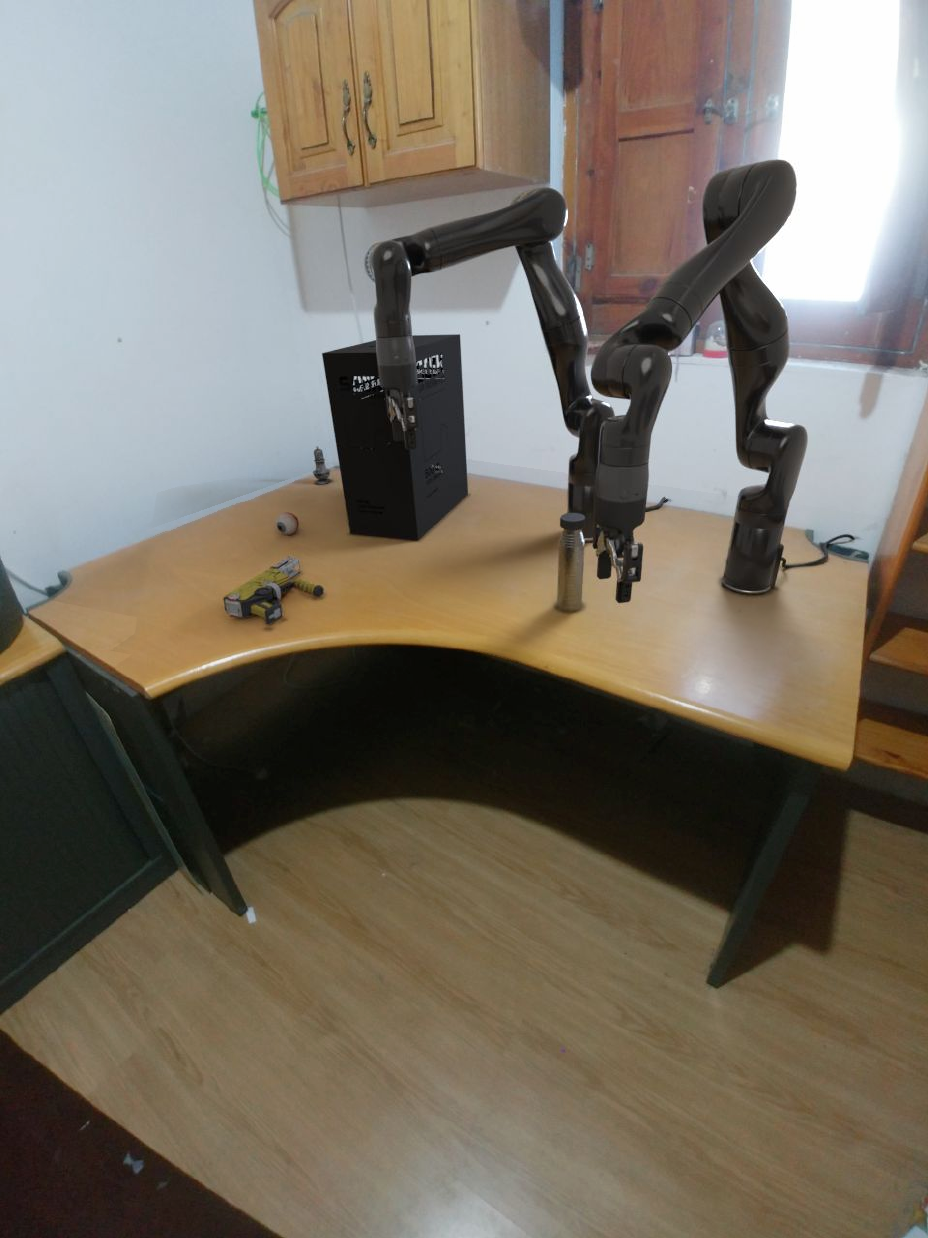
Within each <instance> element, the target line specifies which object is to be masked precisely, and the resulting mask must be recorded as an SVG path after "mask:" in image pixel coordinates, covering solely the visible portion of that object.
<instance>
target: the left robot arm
mask: <svg viewBox="0 0 928 1238" xmlns="http://www.w3.org/2000/svg"><path fill="white" fill-rule="evenodd" d="M568 217H569V209H568V204H567V201H566V199H565V198H564V196H563V195H562V194H561V192H559V190H557V189H555V188H553V187H548V186H540V187H535V188H531V189H528V190H525V191H522V192H520V193H518V194H517V195H515V196H514V198H513V199H512V200H511V202H510V204H509V205H507V206H505V207H503V208H502V207H501V208H499V209H496V210H493V211H490V212H489V211H488V212H486V213H482V214H477V215H472V216H468V217H463V218H462V217H461V218H459V219H454V220H449V221H446V222H443V223H440V224H436V225H433V226H429V227H426V228H423V229H421V230H419V231H416V232H415V233H412V234H409V235H404V236H400V237H395V238H391V239H387V240H384V241H379V242H375V243H373V244H372V245H371V246H370V247H369V248H368V249H367V251H366V252H365V255H364V257H363V258H364V259H363V268H364V271H365V274H366V276H367V278H369V280H371V282H373V283H374V287H375V298H376V299H375V300H376V301H375V304H374V307H373V325H374V333H375V340H376V354H377V363H378V372H379V379H378V380H380V386H381V388H383V389H385V393H386V404H387V416H388V418H390V421H391V423H392V428H393V437H394V440H395V441H403V440H405V448H406V449H407V450H412V449H416V447H417V446H416V435H415V430H416V428H419V422H418V413H417V403H416V397H415V396H413V397H411V396H410V392H409V389H410V388H411V387H415V386H416V385H417V384H418V380H417V372H418V371H417V369H416V357H415V347H414V342H413V336H412V335H413V328H412V316H411V310H410V309H411V297H412V277H415V276H418V275H423V274H430V273H435V272H439V271H442V270H445V269H449V268H452V267H454V266H455V267H456V266H458V265H461V264H463V263H466V262H469V261H471V260H474V259H477V258H479V257H482V256H485V255H488V254H491V253H495V252H498V251H500V250H504V249H507V248H511V247H514V249H515V250H516V253H517V256H518V258H519V260H520V263H521V266H522V268H523V271H524V274H525V277H526V280H527V283H528V286H529V291H530V295H531V298H532V301H533V305H534V308H535V311H536V315H537V319H538V324H539V328H540V331H541V334H542V337H543V341H544V345H545V349H546V352H547V355H548V357H549V361H550V365H551V369H552V372H553V375H554V378H555V381H556V384H557V386H556V387H557V389H558V395H559V401H560V406H561V412H562V418H563V422H564V426H565V428H566V429H567V431H568V432H569V434H571V435H572V436H573V437H576V438H578V447H577V452H576V453H574V454H572V455H570V456H569V459H568V468H567V469H568V473H567V501H566V502H567V503H566V514H567V513H578V514H582V515H584V516H585V526H584V528H582V529H581V531H582V534H583V537H584V541H585V543H587V542H593V534H594V522H595V521H594V519H593V512H594V495H595V479H596V472H597V467H598V458H599V442H600V430H601V426H602V424H603V422H604V421H605V420H606V419H608V418H610V417H613V416H616V414H615V410H614V408H613V406H612V405H611V404H610V403H608V402H606V401H604V400H600V399H597V398H594V397H593V395H592V394H593V393H592V392H591V389H590V386H589V381H588V378H587V373H586V363H587V356H588V349H589V333H588V327H587V323H586V319H585V315H584V311H583V308H582V305H581V302H580V300H579V297H578V295H577V294H576V292H575V290H574V289H573V287H572V285H571V284H570V282H569V280H568V279H567V277H566V276H565V274H564V272H563V271H562V269H561V267H560V263H559V261H558V259H557V256H556V252H555V248H554V244H553V242H554V241H555V240H557V239H558V238H559V237H560V236H561V234H562V233H563V232H564V230H565V228H566V227H567V222H568ZM409 420H410V421H411V423H409ZM665 497H666V496H663V497H662V498H661V499H660V501H659V502H658V503H657V504H654V505H651V506H646V510H645V512H647V511H652V510H656V509H658V508H660V507H661V506H662V505H663V504H664V502H669V498H667V499H666V498H665ZM665 499H666V500H665ZM599 538H600V536H599ZM599 538H598V540H599Z"/></svg>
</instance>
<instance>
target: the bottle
mask: <svg viewBox="0 0 928 1238" xmlns="http://www.w3.org/2000/svg"><path fill="white" fill-rule="evenodd" d="M585 545H586V542H585V541H584V537H583V534H582V531H581V529H580V530H566V529H563V530H562V531H561V534H560V537H559V540H558V557H557V559H558V560H557V588H556V589H557V590H556V591H557V593H556V607H557V608H558V610H560V611H562V612H568V613H572V612H574V613H575V612H577V611H579V610H581V608H582V604H583V603H582V602H583V584H584V583H583V582H584V567H585V566H584V565H585V562H584V561H585Z"/></svg>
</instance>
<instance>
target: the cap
mask: <svg viewBox="0 0 928 1238" xmlns="http://www.w3.org/2000/svg"><path fill="white" fill-rule="evenodd" d="M584 526H585V516H584V515H582V514H578V513H567V512H566V513H564V514H562V515H560V518H559V527H560V528H561V529H563V530H564V529H566V530H580V529H582V528H584Z"/></svg>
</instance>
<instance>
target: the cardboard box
mask: <svg viewBox="0 0 928 1238" xmlns="http://www.w3.org/2000/svg"><path fill="white" fill-rule="evenodd" d="M412 336H413V342H414V347H415V357H416V369H417V380H418V384H417V385H416V386H415V387H411V388H410V389H409V392H410V396H411V397H413V396H415V397H416V403H417V413H418V422H419V428H416V430H415V435H416V446H417V447H416V449H412V450H407V449H406V448H405V440H403V441H395V440H394V437H393V428H392V423H391V421H390V418H388V416H387V404H386V393H385V389H383V388H381V386H380V380H379V372H378V363H377V354H376V339H375V340H370V341H366V342H362V343H358V344H354V345H350V346H345V347H341V348H338V349H333V350H330V351H325V352H322V353H321V356H322V362H323V363H322V364H323V368H324V369H323V370H324V376H325V381H326V382H325V383H326V388H327V395H328V403H329V407H330V413H331V420H332V426H333V433H334V440H335V445H336V452H337V459H338V464H339V466H338V467H339V472H340V477H341V486H342V491H343V497H344V504H345V511H346V517H347V522H348V523H347V524H348V529H349V534H352V535H363V536H371V537H381V538H391V539H401V540H411V541H419V540H420V539H421V538H423V537H424V536H425V535H426V534H427V533H428V532H429V531H430V530H432V528H433V527H434V526H435V525H436V524H438V522H440V520H442V519H443V518H444V517H445V516H446V515H448V513H450V512H451V511H452V510H453V509H454V508H455V507H456V506H457V505H458V504H459V503H461V501H462V500H464V498H466V497H467V496H468V495H469V486H468V465H467V464H468V463H467V444H466V425H465V406H464V405H465V403H464V385H463V364H462V344H461V334H459V333H458V334H415V335H414V334H412ZM425 360H426V363H425ZM437 360H438V363H439V366H438V363H437ZM420 362H421V364H420ZM430 364H431V365H430ZM355 377H356V378H355ZM368 377H369V379H368ZM372 377H373V378H372ZM359 378H360V380H359ZM364 378H365V379H364ZM409 423H411V421H410V420H409Z"/></svg>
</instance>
